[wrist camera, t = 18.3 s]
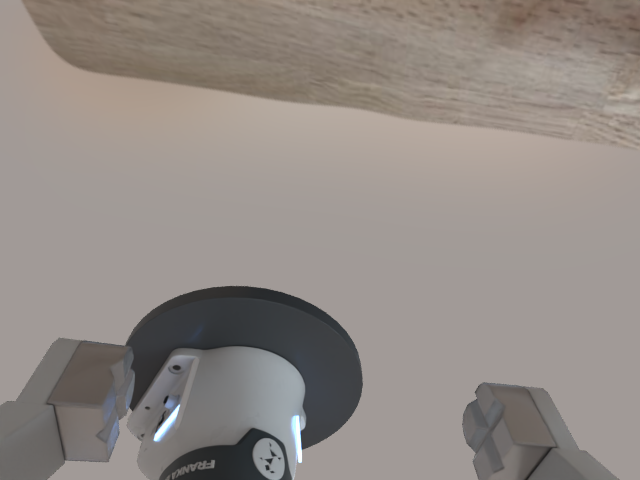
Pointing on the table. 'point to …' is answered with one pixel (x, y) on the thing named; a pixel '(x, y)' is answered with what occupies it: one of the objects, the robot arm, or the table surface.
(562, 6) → the table surface
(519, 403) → the robot arm
